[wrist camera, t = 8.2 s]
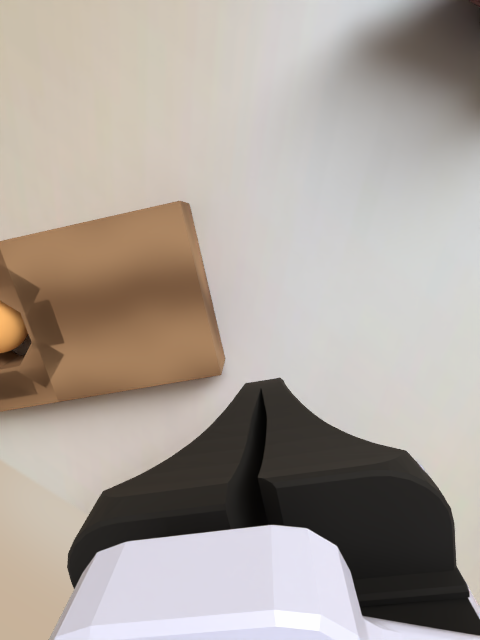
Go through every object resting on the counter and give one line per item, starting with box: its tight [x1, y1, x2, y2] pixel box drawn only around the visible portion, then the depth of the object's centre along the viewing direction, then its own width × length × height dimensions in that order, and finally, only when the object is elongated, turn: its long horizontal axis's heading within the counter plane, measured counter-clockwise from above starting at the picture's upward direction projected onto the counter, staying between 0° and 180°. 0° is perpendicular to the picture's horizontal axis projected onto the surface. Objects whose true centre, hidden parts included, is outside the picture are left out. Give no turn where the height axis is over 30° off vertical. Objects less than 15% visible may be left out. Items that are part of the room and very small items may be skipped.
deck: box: [0, 201, 225, 411], centre depth 21 cm, size 10×17×2 cm, turn 102°
